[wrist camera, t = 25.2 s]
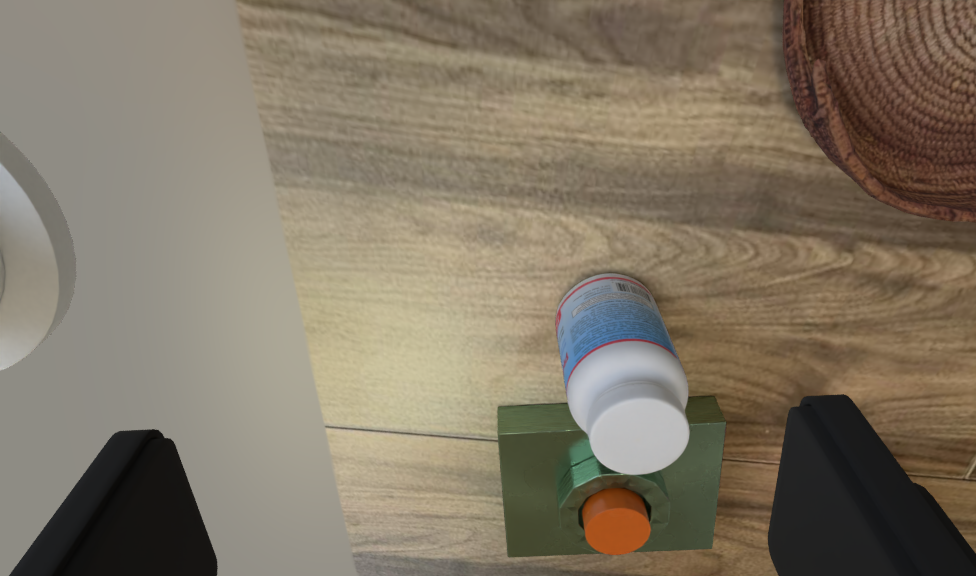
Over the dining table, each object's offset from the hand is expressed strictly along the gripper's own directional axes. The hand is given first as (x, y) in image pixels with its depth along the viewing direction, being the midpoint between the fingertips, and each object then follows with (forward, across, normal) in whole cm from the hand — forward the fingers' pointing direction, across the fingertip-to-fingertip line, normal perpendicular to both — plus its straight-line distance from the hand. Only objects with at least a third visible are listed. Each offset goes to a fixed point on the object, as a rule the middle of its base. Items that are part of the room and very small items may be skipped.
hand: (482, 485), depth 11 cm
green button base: (+28, -6, +26) cm, 39 cm away
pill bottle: (+28, -6, +14) cm, 32 cm away
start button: (+24, -6, +26) cm, 36 cm away
